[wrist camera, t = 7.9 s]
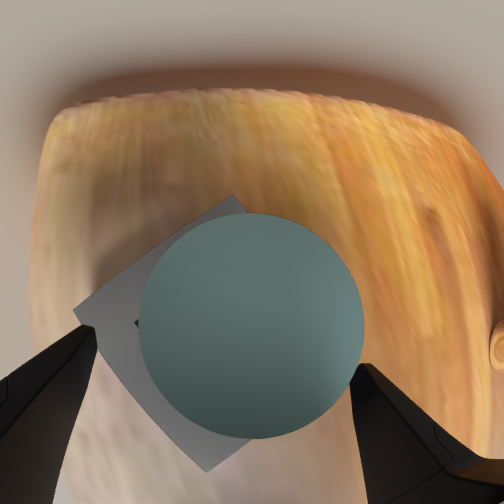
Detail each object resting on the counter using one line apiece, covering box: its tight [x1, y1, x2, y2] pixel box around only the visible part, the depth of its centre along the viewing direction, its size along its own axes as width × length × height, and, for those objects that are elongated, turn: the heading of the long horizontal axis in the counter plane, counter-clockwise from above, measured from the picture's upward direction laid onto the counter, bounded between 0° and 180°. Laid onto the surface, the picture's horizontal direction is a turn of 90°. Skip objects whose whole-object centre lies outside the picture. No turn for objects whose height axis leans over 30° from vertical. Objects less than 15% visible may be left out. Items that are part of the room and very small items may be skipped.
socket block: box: [73, 195, 252, 472], centre depth 16 cm, size 11×11×3 cm
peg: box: [138, 213, 364, 439], centre depth 11 cm, size 4×4×13 cm
